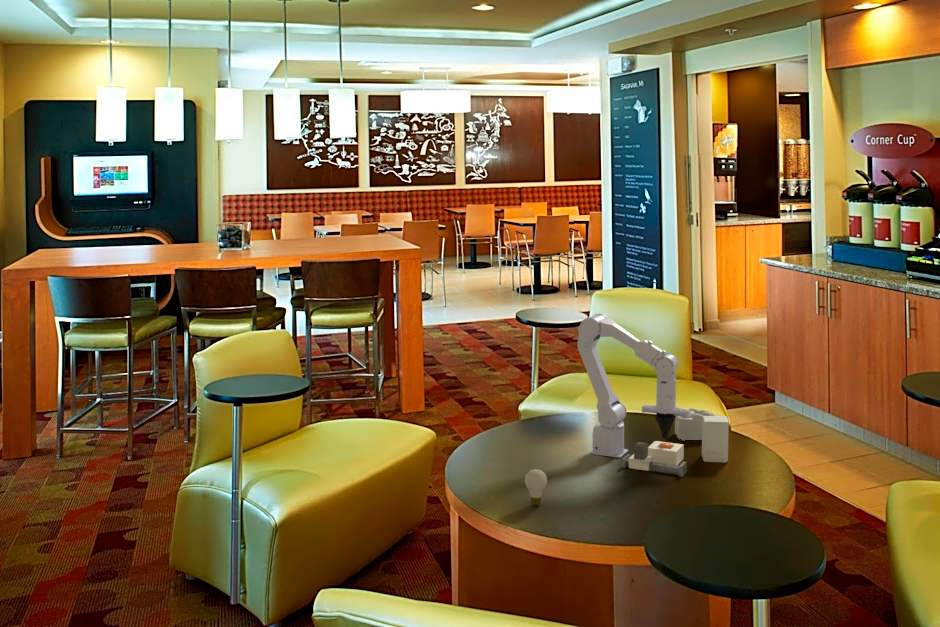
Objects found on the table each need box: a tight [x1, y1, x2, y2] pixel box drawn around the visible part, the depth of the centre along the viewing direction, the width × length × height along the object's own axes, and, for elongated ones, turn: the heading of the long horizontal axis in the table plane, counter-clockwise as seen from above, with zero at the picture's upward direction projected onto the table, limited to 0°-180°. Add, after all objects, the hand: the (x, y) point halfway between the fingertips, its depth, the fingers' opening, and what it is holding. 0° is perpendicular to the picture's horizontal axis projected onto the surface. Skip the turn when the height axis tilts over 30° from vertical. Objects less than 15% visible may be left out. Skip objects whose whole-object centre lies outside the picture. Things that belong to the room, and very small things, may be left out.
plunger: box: [660, 442, 671, 449], centre depth 267 cm, size 3×3×5 cm
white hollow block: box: [648, 440, 685, 465], centre depth 267 cm, size 9×8×4 cm
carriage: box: [628, 441, 653, 472], centre depth 260 cm, size 6×5×7 cm
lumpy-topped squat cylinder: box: [674, 407, 717, 441], centre depth 291 cm, size 10×13×9 cm
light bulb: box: [524, 468, 548, 507], centre depth 232 cm, size 6×6×10 cm
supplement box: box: [701, 415, 730, 463], centre depth 267 cm, size 7×7×13 cm
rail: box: [621, 453, 688, 478], centre depth 259 cm, size 18×5×3 cm, turn 61°
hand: (665, 437), depth 266 cm, fingers closed
